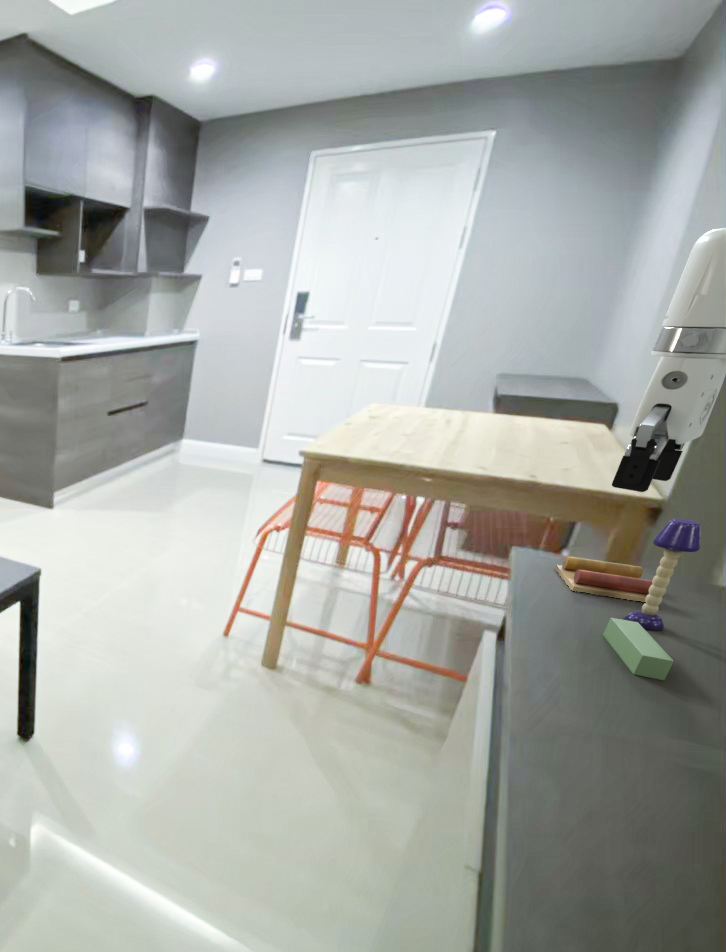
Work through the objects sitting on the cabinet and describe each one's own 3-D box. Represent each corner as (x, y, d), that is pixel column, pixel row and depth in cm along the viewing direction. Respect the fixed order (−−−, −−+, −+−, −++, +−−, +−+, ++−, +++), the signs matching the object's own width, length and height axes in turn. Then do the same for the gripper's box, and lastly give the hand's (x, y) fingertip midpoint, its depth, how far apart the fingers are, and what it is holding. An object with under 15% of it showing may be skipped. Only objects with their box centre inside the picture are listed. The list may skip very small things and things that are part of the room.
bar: (602, 635, 90) (610, 617, 89) (629, 640, 89) (638, 622, 88) (633, 674, 80) (642, 655, 79) (664, 680, 79) (674, 661, 78)
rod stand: (633, 581, 108) (641, 563, 107) (659, 605, 99) (668, 586, 98) (554, 569, 113) (560, 552, 112) (571, 591, 104) (579, 573, 103)
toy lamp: (617, 621, 94) (663, 520, 88) (620, 612, 97) (664, 514, 91) (661, 633, 91) (712, 529, 84) (663, 623, 94) (712, 521, 87)
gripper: (730, 347, 64) (661, 501, 71) (763, 343, 73) (700, 481, 79) (633, 344, 70) (578, 486, 77) (675, 340, 79) (622, 469, 85)
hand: (640, 483), depth 78 cm, fingers open, 9 cm apart
